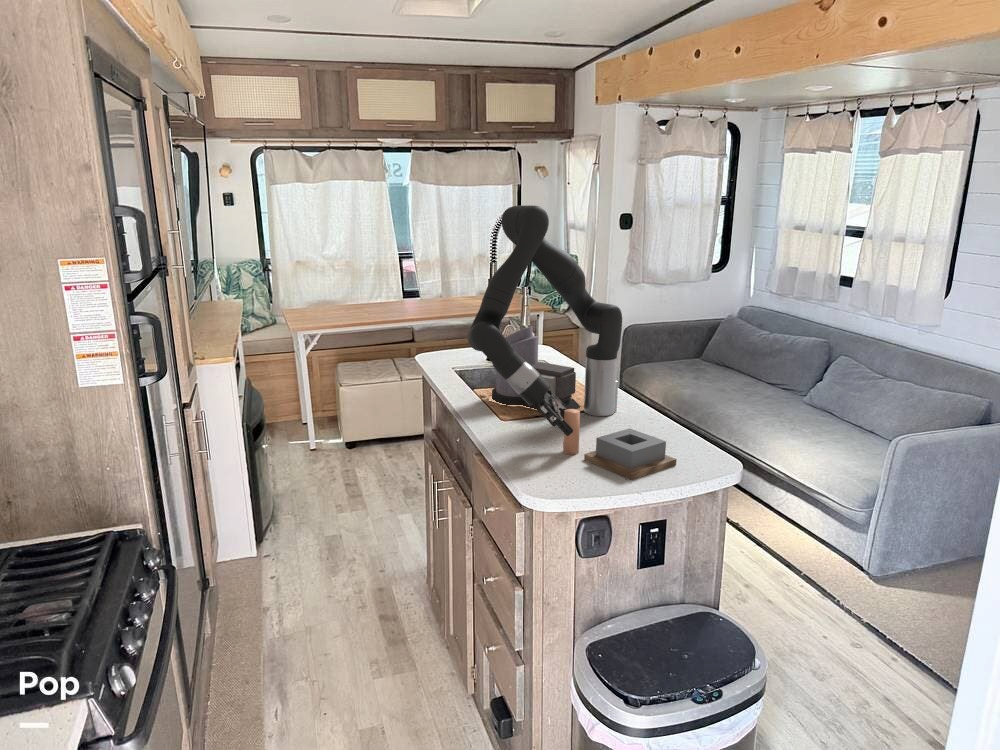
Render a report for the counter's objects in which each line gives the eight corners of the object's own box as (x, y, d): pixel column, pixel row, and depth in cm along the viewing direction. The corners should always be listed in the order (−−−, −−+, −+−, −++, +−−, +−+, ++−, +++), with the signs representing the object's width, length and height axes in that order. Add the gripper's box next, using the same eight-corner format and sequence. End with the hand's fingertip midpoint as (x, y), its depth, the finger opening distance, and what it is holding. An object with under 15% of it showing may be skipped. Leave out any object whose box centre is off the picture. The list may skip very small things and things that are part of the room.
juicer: (478, 400, 229) (478, 325, 223) (507, 389, 242) (508, 318, 235) (557, 418, 212) (560, 337, 206) (585, 405, 224) (588, 329, 218)
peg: (571, 447, 188) (572, 408, 185) (581, 452, 185) (583, 411, 182) (559, 451, 185) (560, 410, 182) (570, 455, 182) (571, 414, 179)
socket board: (628, 446, 189) (628, 441, 189) (676, 464, 177) (676, 459, 176) (584, 459, 180) (584, 453, 179) (631, 479, 167) (631, 473, 167)
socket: (628, 444, 186) (629, 428, 185) (664, 458, 177) (666, 441, 176) (595, 454, 179) (596, 437, 178) (631, 469, 170) (632, 451, 169)
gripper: (536, 380, 174) (581, 427, 175) (540, 366, 188) (583, 410, 189) (514, 400, 176) (559, 446, 177) (520, 385, 190) (562, 428, 191)
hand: (571, 428), depth 183 cm, fingers open, 8 cm apart
